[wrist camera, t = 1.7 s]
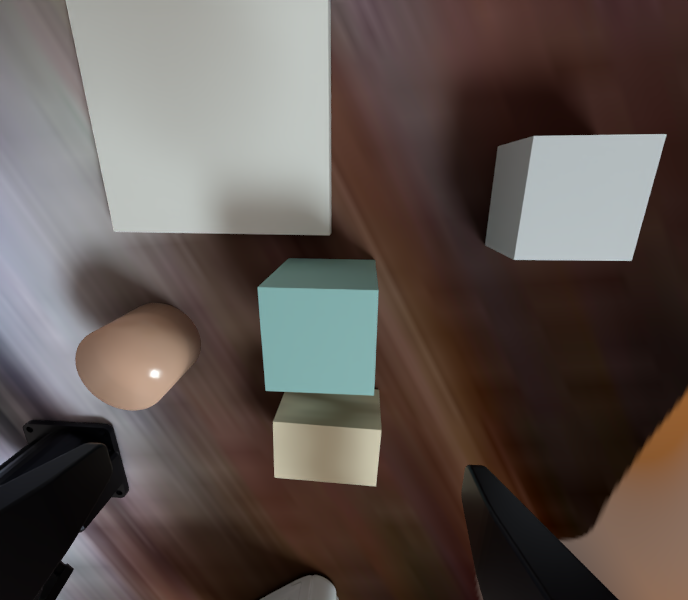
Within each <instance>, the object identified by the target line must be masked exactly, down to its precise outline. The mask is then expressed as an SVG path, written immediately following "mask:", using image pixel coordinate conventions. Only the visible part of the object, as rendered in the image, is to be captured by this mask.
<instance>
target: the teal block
mask: <svg viewBox="0 0 688 600" xmlns="http://www.w3.org/2000/svg"><path fill="white" fill-rule="evenodd" d="M258 300H259V313H260V326H261V339H262V351H263V364H264V377H265V390H266V391H279V392H302V393H325V394H348V395H371V396H374V385H375V361H376V337H377V313H378V282H377V273H376V264H375V260H355V259H305V258H288V259H287V260H286V261H285V262H284V263H283V264H282V265H281V266H280V267H279V268H278V269H277V270H276V271H274V272H273V273H272V274H271V275H270V276H269V277H268V278H267V279H266V280H265V281H264V282H263V283H261V284H260V285H259V286H258Z"/></svg>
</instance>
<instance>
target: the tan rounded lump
mask: <svg viewBox="0 0 688 600" xmlns="http://www.w3.org/2000/svg"><path fill="white" fill-rule="evenodd" d="M200 350H201V340H200V336H199V333H198V330H197V328H196V326H195V325H194V323H193V322H192V321H191V319H190V318H189V317H188V316H187V315H186V314H184V313H183V312H182V311H180V310H179V309H177V308H175V307H173V306H170V305H167V304H163V303H148V304H144V305H142V306H140V307H138V308H136V309H134V310H132V311H130V312H129V313H127V314H125V315H123V316H121V317H119V318H118V319H116V320H114V321H112V322H110V323H109V324H107V325H105V326H103V327H101V328H99V329H98V330H96V331H94V332H92V333H90V334H89V335H87V336H86V337H85V338H84V339H83V340H82V341H81V343H80V344H79V346H78V348H77V351H76V358H75V360H76V368H77V371H78V374H79V376H80V378H81V380H82V382H83V383H84V385H85V386H86V387H87V389H88V390H89V391H90V392H91V393H92V394H93V395H94V396H96V397H97V398H98V399H100V400H101V401H103V402H105V403H106V404H108V405H111V406H113V407H116V408H119V409H124V410H142V409H146V408H148V407H151V406H153V405H154V404H156V403H157V402H158V401H159V400H160V399H161V398H162V397H163V396H164V395H165V394H166V393H167V392H168V391H169V390H170V388H171V387H172V386H173V385H174V384H175V383H176V382H177V381H178V380H179V379H180V378H181V377H182V376H183V375H184V374H185V373H186V371H187V370H188V369H189V368H190V367H191V366H192V365H193V364H194V363H195V362H196V360H197V359H198V356H199V354H200Z"/></svg>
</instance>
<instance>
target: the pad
mask: <svg viewBox="0 0 688 600" xmlns="http://www.w3.org/2000/svg"><path fill="white" fill-rule="evenodd" d="M66 5H67V10H68V15H69V19H70V24H71V29H72V34H73V38H74V43H75V48H76V53H77V58H78V62H79V67H80V72H81V77H82V81H83V86H84V91H85V96H86V101H87V105H88V110H89V115H90V120H91V124H92V129H93V134H94V139H95V144H96V148H97V153H98V158H99V163H100V167H101V172H102V177H103V182H104V187H105V191H106V196H107V201H108V206H109V210H110V215H111V220H112V225H113V230H114V232H157V233H217V234H276V235H330V234H331V9H330V0H66Z"/></svg>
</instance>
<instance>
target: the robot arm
mask: <svg viewBox="0 0 688 600" xmlns="http://www.w3.org/2000/svg"><path fill="white" fill-rule="evenodd" d="M23 430H24V433H25V436H26V439H27V441H28V445H26V446H25V447H24V448H23V449H21V450H20V451H19V452H17V453H16V454H15V455H13V456H12V457H11V458H9V459H8V460H7V461H6V462H4V463H3V464H2V465H0V600H56V598H57V596H58V595H59V593H60V591H61V590H62V588H63V586H64V585H65V583H66V582H67V580H68V578H69V577H70V575H71V573H72V572H73V570H74V568H72V567H71V566H70V565H69V564H64V563H63V562H62V561H61V560H62V558H63V557H64V555H65V554H66V552H67V551H68V549H69V548H70V546H71V545H72V543H73V542H74V540H75V538H76V537H77V535H78V533H79V532H82V531H83V530H85V529H86V528H87V526H88V525H89V524H90V523H91V521H92V520H93V519H94V518H95V517H96V515H97V514H98V513H99V512H100V510H101V509H102V508H103V507H104V506H105V504H106V503H107V502H108V501H109V499H110V498H111V497H117V498H123V497H125V495H126V494H127V493H128V491H129V487H128V483H127V479H126V475H125V472H124V468H123V464H122V460H121V456H120V452H119V448H118V444H117V441H116V437H115V433H114V429H113V428H112V427H111V426H110V425H108V424H97V423H77V422H57V421H38V420H31V421H29V422H28V423H26V424H25V425H24V426H23ZM462 503H463V508H464V514H465V519H466V524H467V529H468V534H469V540H470V545H471V550H472V555H473V560H474V565H475V570H476V575H477V578H478V582H479V586H480V590H481V593H482V596H483V600H618V599H617V598H616V597H615V596H614V595H613V594H612V593H611V592H610V591H609V590H608V589H607V588H606V587H605V586H604V585H603V584H602V583H601V582H600V581H599V580H598V579H597V578H596V577H595V576H594V575H593V574H592V573H591V572H590V571H589V570H588V569H587V568H586V567H585V566H584V565H583V564H582V563H581V562H580V561H579V560H578V559H577V558H576V557H575V556H574V555H573V554H572V553H571V552H570V551H569V550H568V549H567V548H566V547H565V546H564V545H563V544H562V543H561V542H560V541H559V540H558V539H557V538H556V537H555V536H554V535H553V534H552V533H551V532H550V531H549V530H548V529H547V528H546V527H545V526H544V525H543V524H542V523H541V522H540V521H539V520H538V519H537V518H536V517H535V516H534V515H533V514H532V513H531V512H530V511H529V510H528V509H527V508H526V507H525V506H524V505H523V504H522V503H521V502H520V501H519V500H518V499H517V498H516V497H515V496H514V495H513V494H512V493H511V492H510V491H509V490H508V489H507V488H506V487H505V486H504V485H503V484H502V483H501V482H500V481H499V480H498V479H497V478H496V477H495V476H494V475H493V474H492V473H491V472H490V471H489V470H488V469H487V468H486V467H485V466H482V465H467V466H466V468H465V473H464V479H463V485H462Z"/></svg>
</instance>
